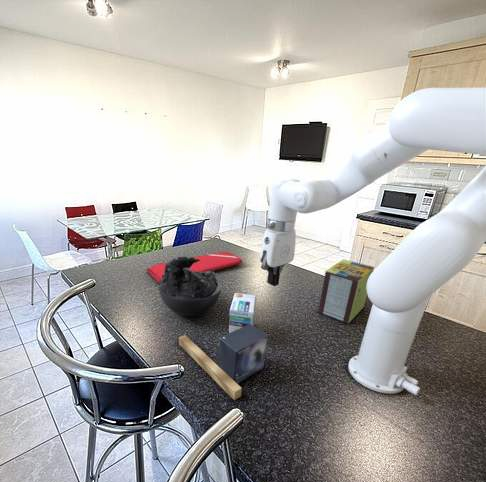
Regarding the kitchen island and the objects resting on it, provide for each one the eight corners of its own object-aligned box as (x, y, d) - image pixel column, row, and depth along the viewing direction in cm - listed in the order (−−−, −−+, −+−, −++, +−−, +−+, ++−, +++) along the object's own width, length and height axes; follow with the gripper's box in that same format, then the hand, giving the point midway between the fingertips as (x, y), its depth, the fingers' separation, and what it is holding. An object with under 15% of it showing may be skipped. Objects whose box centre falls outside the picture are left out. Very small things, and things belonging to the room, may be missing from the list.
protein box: (364, 307, 103) (374, 266, 97) (348, 324, 93) (359, 280, 87) (334, 297, 110) (343, 258, 103) (316, 312, 99) (325, 270, 93)
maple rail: (241, 396, 65) (241, 388, 64) (234, 400, 64) (234, 392, 63) (185, 342, 83) (185, 334, 82) (179, 344, 82) (178, 337, 81)
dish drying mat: (146, 271, 128) (146, 263, 127) (224, 256, 148) (224, 249, 146) (160, 285, 116) (159, 276, 114) (243, 266, 135) (243, 259, 134)
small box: (234, 388, 67) (236, 351, 63) (216, 372, 72) (217, 337, 68) (265, 369, 73) (269, 334, 69) (246, 355, 78) (249, 322, 74)
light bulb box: (251, 346, 82) (254, 313, 77) (227, 342, 83) (229, 310, 79) (254, 325, 91) (256, 294, 87) (232, 322, 93) (234, 292, 88)
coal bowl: (183, 292, 110) (182, 245, 103) (230, 307, 101) (233, 256, 94) (147, 317, 94) (143, 263, 87) (200, 336, 85) (200, 278, 78)
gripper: (272, 232, 74) (264, 295, 82) (308, 224, 82) (298, 282, 90) (251, 225, 79) (246, 285, 87) (288, 218, 88) (279, 274, 95)
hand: (272, 283), depth 88 cm, fingers closed
